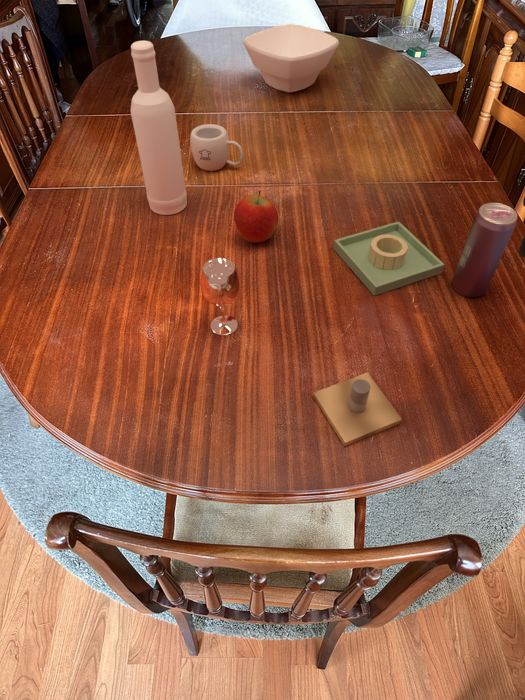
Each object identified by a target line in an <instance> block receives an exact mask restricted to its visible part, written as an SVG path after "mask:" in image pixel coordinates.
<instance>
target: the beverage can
mask: <svg viewBox="0 0 525 700" xmlns="http://www.w3.org/2000/svg"><path fill="white" fill-rule="evenodd" d="M517 220H518V213H517V212H516V210H515V209H513V208H512V207H511V206H508V205H507V204H504V203H500V202H499V203H498V202H488V203H484V204H482V205H481V206H480V207H479V209H478V211H477V212H476V213H475V216H474V218H473V222H472V224H471V226H470V229H469V232H468V235H467V237H466V240H465V242H464V245H463V248H462V250H461V254H460V257H459V259H458V263H457V265H456V268H455V271H454V273H453V276H452V279H451V284H452V287H453V289H454V290H455V292H456V293H458V295H462V296H464V297H467V298H477V297H481V296H482V295H484V294H485V293H487V291H488V290H489V287H490V285H491V282H492V280H493V278H494V276H495V273H496V272H497V268H498V266H499V264H500V261H501V259H502V257H503V255H504V253H505V250H506V248H507V246H508V244H509V241H510V239H511V237H512V235H513V232H514V230H515V228H516V225H517Z"/></svg>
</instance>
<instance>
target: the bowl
mask: <svg viewBox="0 0 525 700" xmlns="http://www.w3.org/2000/svg"><path fill="white" fill-rule="evenodd" d="M242 42H243V46H244V48H245V50H246V53H247V55H248V56H249V58H250V60H251V62H252V65H253V66H254V67H255V68H256V69H258V70H259V72H260V74H261V76H262V78H263V81H264V82H265V84H267V85H268V86H270V87H271V88H273V89H275V90H279V91H282V92H285V93H295V92H298V91H301V90H305V89H308V87H310V86H312V85H313V84H314V83H315V82H316V80H317V78H318V77H319V74H320V72H321V71H322V70H324V69H325V68H326V67H327V66H329V63H330V61H331V60H332V58H333V56H334V54H335V52H336V51H337V49H338V47H339V45H340V42H339V39H338V38H337V37H335V36H334V35H331V34H330V33H328V32H324V31H322V30H320V29H316V28H312V27H308V26H304V25H301V24H294V23H289V24H288V23H287V24H281V25H277V26H273V27H269V28H265V29H262V30H259V31H257V32H254V33H253V34H250V35H248V36H247V37H245V38H244V39H243V41H242Z"/></svg>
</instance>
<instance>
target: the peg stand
mask: <svg viewBox="0 0 525 700" xmlns="http://www.w3.org/2000/svg"><path fill="white" fill-rule="evenodd" d="M312 398H313V399H314V400H315V402H316V404H317V405H318V407H319V408H320V410H321V412H322V413H323V415H324V416H325V418H326V420H327V421H328V423H329V424H330V426H331V428H332V429H333V431H334V433H335V434H336V436H337V437H338V439H339V440H340V442H341V444H342V445H343V447H347V446H349V445H352V444H354V443H357V442H359V441H361V440H364V439H367V438H368V437H371V436H373V435H376V434H378V433H380V432H383V431H385V430H388V429H391V428H392V427H395V426H397V425H400V424H401V423H402V421H403V418H402V417H401V416H400V414H399V413H398V411H397V410H396V408H394V407H395V406H393V404H392V403H391V402H390V401H389V399H388V398H387V396H386V395H385V394H384V393H383V391H382V390H381V388H380V387H379V385H378V384H377V383H376V382H375V380H374V379H373V378H372V376H371V375H370V374H369V372H364V373H361V374H359V375H356V376H354V377H351V378H349V379H346V380H343V381H341V382H338V383H336V384H332V385H330V386H327V387H324V388H322V389H319V390H316V391H313V392H312Z"/></svg>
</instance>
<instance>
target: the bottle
mask: <svg viewBox="0 0 525 700" xmlns="http://www.w3.org/2000/svg"><path fill="white" fill-rule="evenodd" d="M154 47H155V46H154V44H153V43H152V42H151V41H150V40H137V41H134V42H133V43H132V44H131V45H130V49H131V52H130V54H131V58H132V60H133V67H134V71H135V77H136V84H137V88H138V89H137V90H136V92H135V93H134V95H133V96H132V98H131V104H130V115H131V121H132V125H133V131H134V135H135V140H136V145H137V150H138V155H139V162H140V165H141V171H142V176H143V181H144V185H145V191H146V199H147V202H148V205H149V208H150V209H149V210H151V211H152V212H153V213H155V214H158V215H161V216H171V215H172V216H173V215H175V214H178V213H180V212H183V210H185V208H186V207H187V206H188V205H187V204H188V198H187V197H188V194H187V189H186V184H185V177H184V168H183V161H182V154H181V145H180V138H179V130H178V123H177V115H176V108H175V105H174V103H173V101H172V99H171V97H170V95H169V93H168V92H166V90H164V89H163V88H161V86H160V81H159V74H158V67H157V60H156V51H155V48H154Z"/></svg>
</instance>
